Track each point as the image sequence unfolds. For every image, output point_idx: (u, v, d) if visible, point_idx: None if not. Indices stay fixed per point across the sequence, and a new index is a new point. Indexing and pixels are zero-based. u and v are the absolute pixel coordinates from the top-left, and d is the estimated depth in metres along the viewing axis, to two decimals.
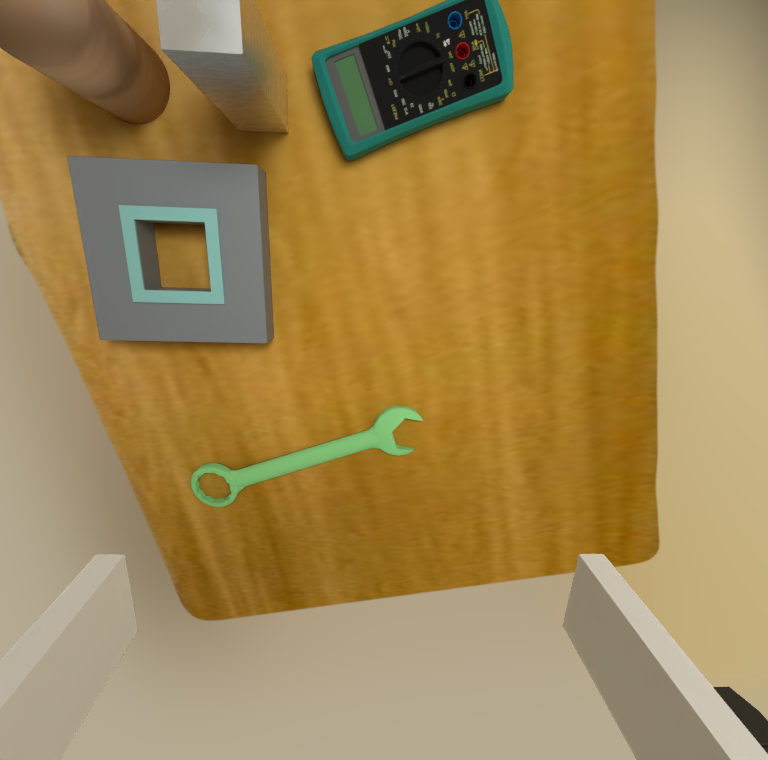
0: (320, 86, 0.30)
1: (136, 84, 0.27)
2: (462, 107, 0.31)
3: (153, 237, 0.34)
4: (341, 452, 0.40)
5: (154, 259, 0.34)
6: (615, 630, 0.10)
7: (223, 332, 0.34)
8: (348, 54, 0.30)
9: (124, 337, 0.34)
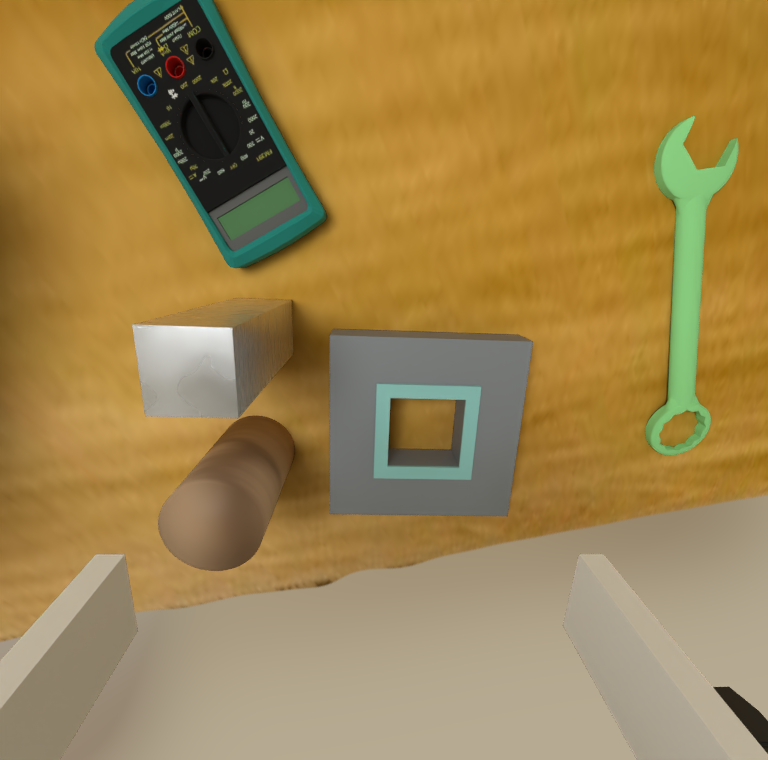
0: (259, 254, 0.26)
1: (264, 446, 0.27)
2: (236, 55, 0.23)
3: (400, 450, 0.32)
4: (698, 254, 0.28)
5: (423, 452, 0.32)
6: (615, 630, 0.10)
7: (514, 391, 0.28)
8: (220, 225, 0.25)
9: (507, 493, 0.31)
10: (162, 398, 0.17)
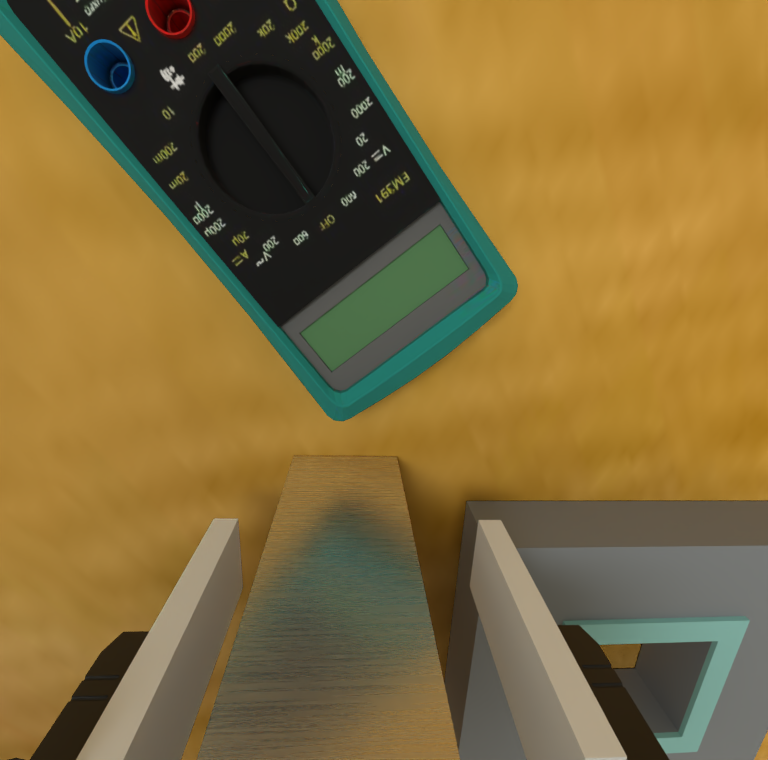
0: (392, 389, 0.13)
1: None
2: None
3: None
4: None
5: None
6: (495, 582, 0.11)
7: None
8: (307, 345, 0.12)
9: None
10: None
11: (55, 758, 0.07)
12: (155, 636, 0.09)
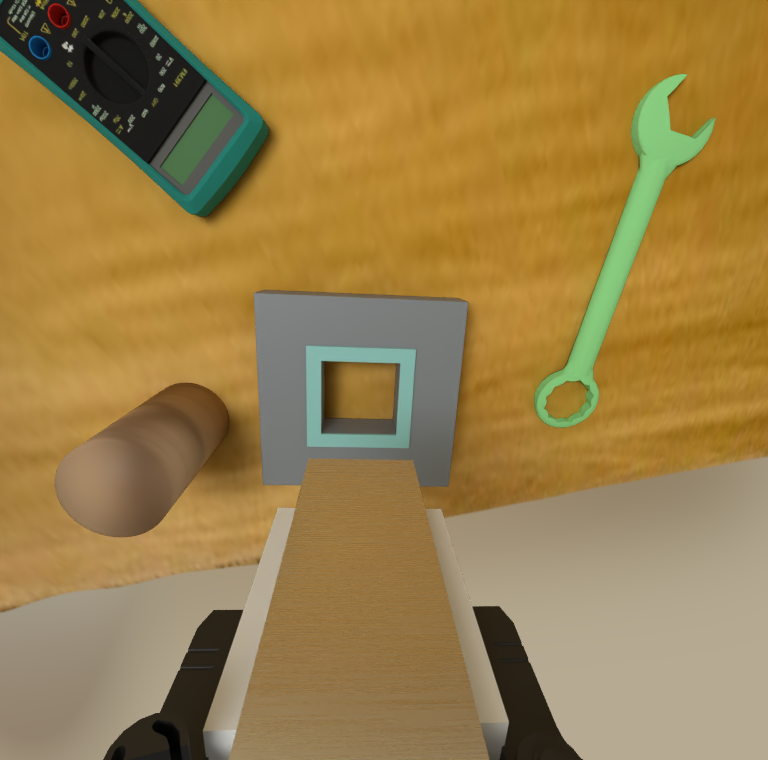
0: (214, 189, 0.24)
1: (186, 410, 0.26)
2: None
3: (339, 419, 0.31)
4: (643, 221, 0.27)
5: (362, 421, 0.31)
6: None
7: (450, 355, 0.27)
8: (165, 172, 0.24)
9: (447, 462, 0.30)
10: None
11: None
12: (251, 612, 0.09)
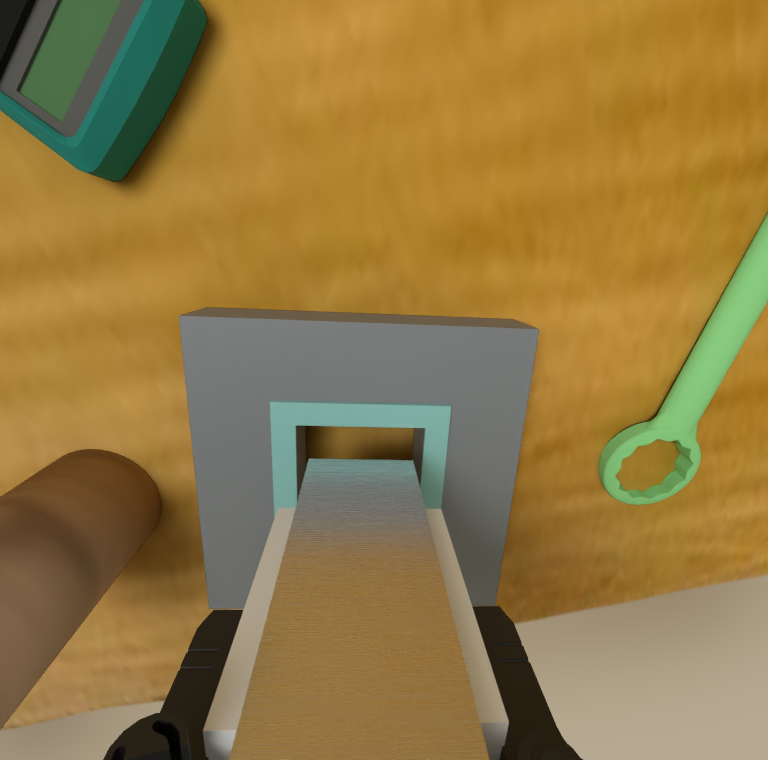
0: (119, 123, 0.14)
1: (67, 512, 0.15)
2: None
3: None
4: None
5: None
6: None
7: (506, 414, 0.17)
8: (28, 100, 0.14)
9: (495, 572, 0.19)
10: None
11: None
12: (251, 612, 0.09)
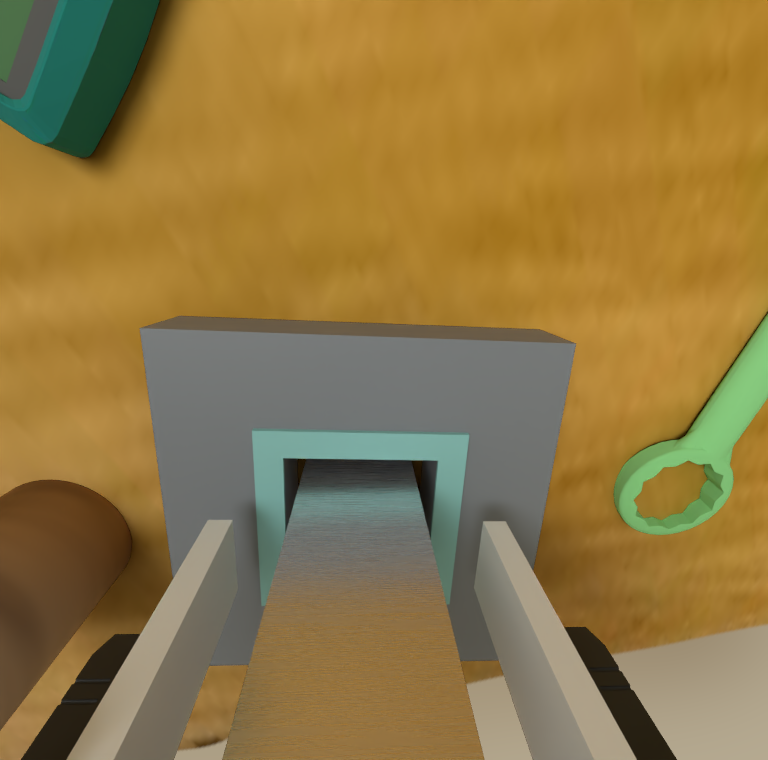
0: (76, 77, 0.11)
1: (7, 565, 0.13)
2: None
3: None
4: None
5: None
6: (501, 583, 0.11)
7: (534, 443, 0.14)
8: None
9: None
10: None
11: None
12: (146, 639, 0.08)
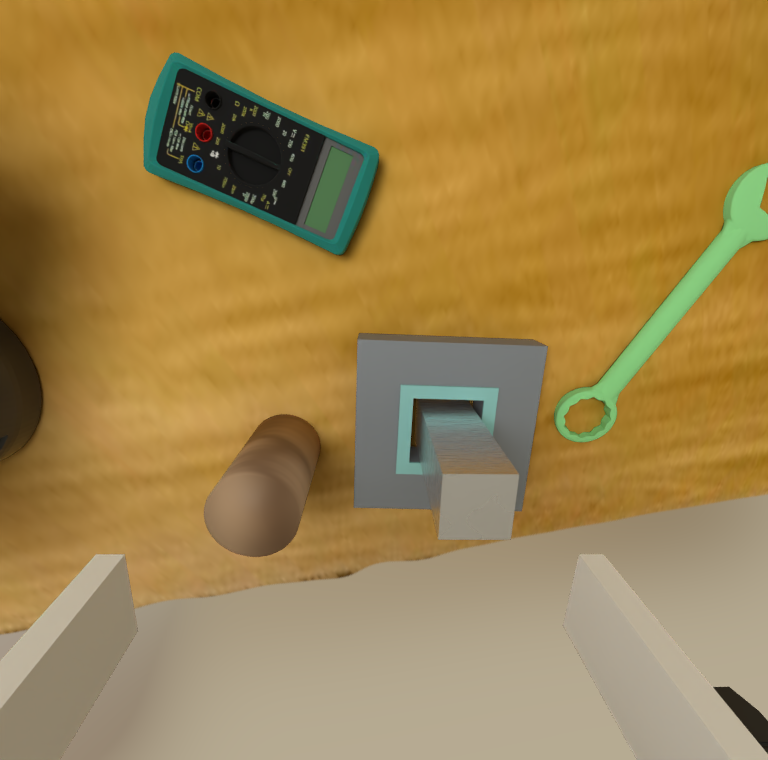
0: (353, 226, 0.27)
1: (295, 442, 0.29)
2: (235, 84, 0.25)
3: None
4: (708, 277, 0.30)
5: None
6: (615, 630, 0.10)
7: (529, 393, 0.30)
8: (309, 227, 0.27)
9: (521, 489, 0.32)
10: (454, 526, 0.21)
11: None
12: None
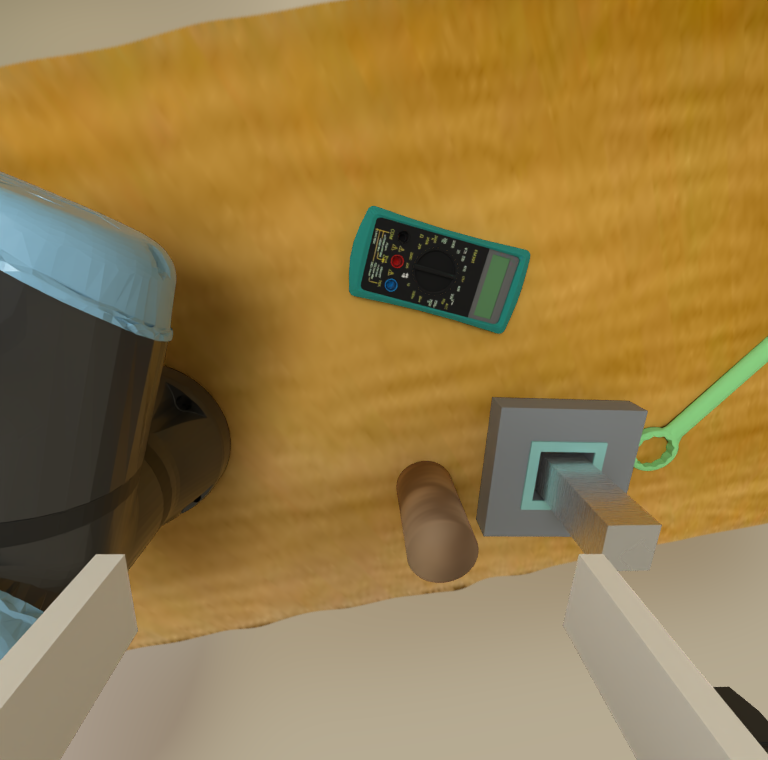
0: (512, 311, 0.35)
1: (450, 488, 0.37)
2: (419, 221, 0.32)
3: None
4: None
5: None
6: (615, 630, 0.10)
7: (630, 446, 0.38)
8: (478, 316, 0.35)
9: None
10: (610, 561, 0.29)
11: None
12: None
